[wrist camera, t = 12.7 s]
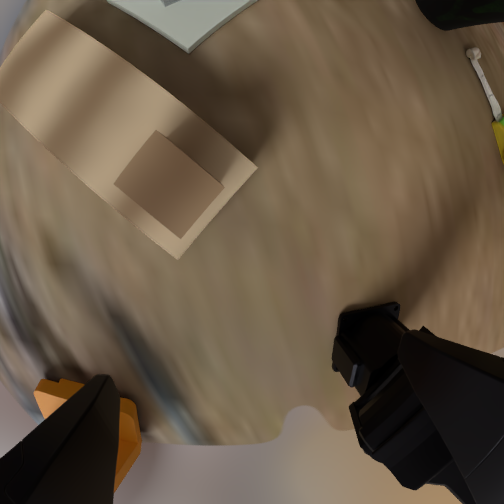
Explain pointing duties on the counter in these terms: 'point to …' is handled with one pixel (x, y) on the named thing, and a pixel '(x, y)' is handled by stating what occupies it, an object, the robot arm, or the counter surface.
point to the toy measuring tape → (500, 126)
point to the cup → (461, 12)
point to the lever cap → (168, 2)
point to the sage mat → (183, 17)
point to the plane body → (120, 132)
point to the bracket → (129, 431)
